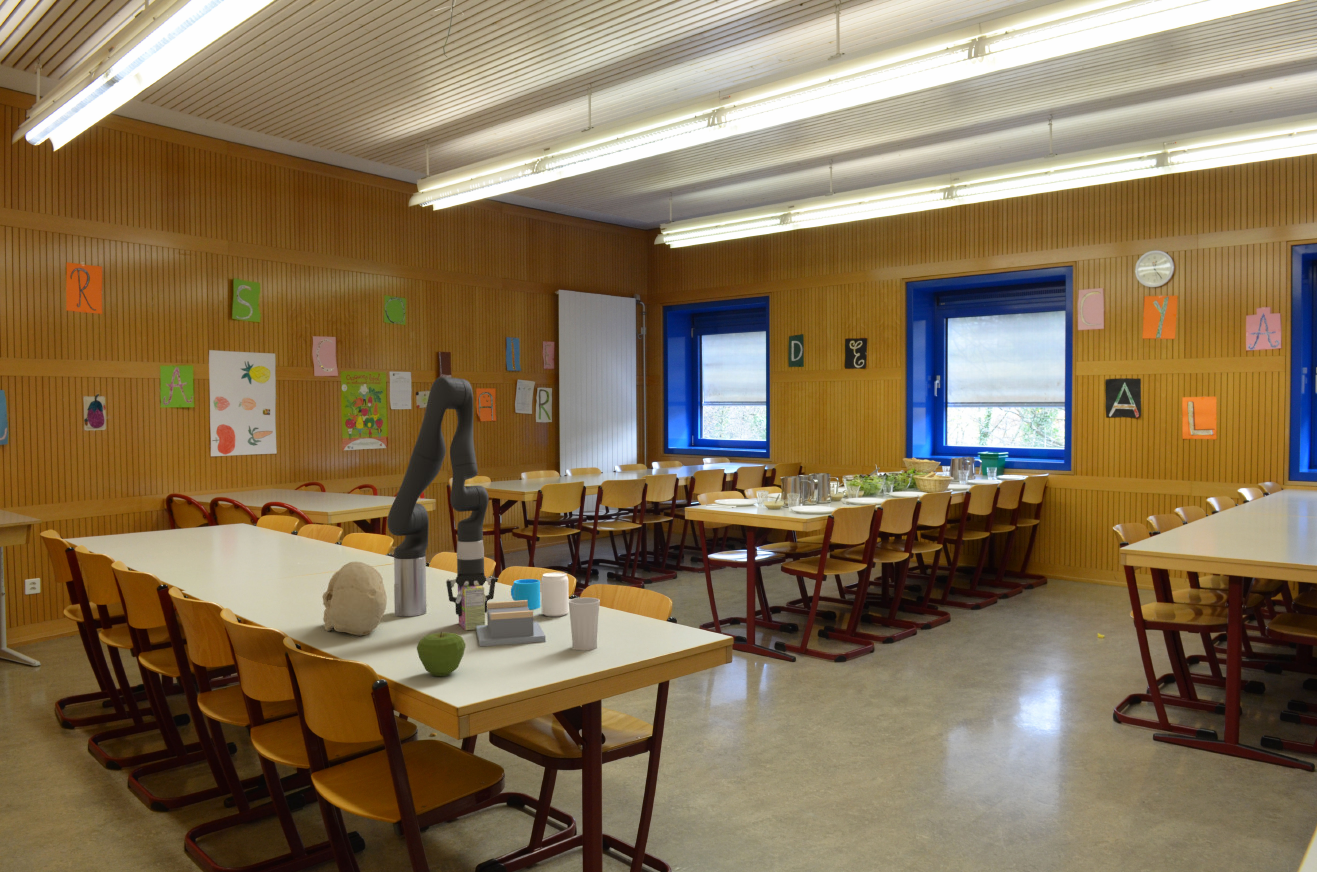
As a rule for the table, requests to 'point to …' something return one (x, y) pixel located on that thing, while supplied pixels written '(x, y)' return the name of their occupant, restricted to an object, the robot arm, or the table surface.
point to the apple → (441, 652)
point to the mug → (527, 592)
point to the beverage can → (554, 594)
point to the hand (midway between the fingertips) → (471, 614)
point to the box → (472, 607)
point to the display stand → (509, 625)
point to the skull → (354, 599)
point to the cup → (584, 622)
